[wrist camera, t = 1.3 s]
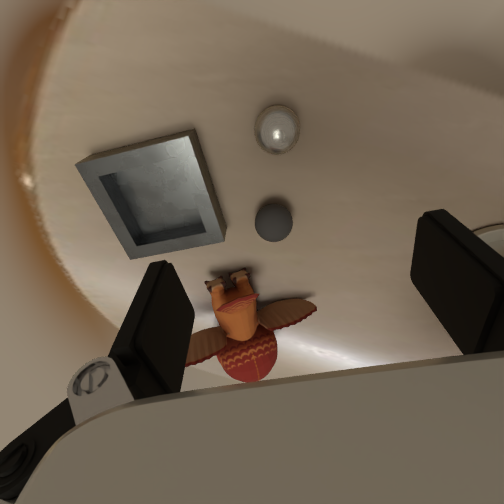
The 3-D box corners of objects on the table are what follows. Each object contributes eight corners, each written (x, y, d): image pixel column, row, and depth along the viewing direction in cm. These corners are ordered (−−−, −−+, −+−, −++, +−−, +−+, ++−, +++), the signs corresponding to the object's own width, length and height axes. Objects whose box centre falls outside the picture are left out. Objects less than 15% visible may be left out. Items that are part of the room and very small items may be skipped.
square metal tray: (194, 128, 27) (188, 136, 25) (226, 227, 33) (224, 241, 31) (90, 155, 29) (74, 164, 26) (139, 245, 35) (130, 259, 32)
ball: (287, 194, 31) (291, 211, 27) (293, 226, 33) (297, 245, 30) (251, 202, 31) (250, 219, 28) (259, 232, 33) (259, 252, 30)
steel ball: (293, 97, 25) (299, 103, 22) (300, 142, 28) (305, 154, 24) (250, 108, 26) (249, 116, 23) (259, 152, 28) (259, 165, 25)
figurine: (147, 291, 37) (182, 379, 42) (144, 326, 29) (189, 430, 34) (285, 244, 41) (302, 330, 46) (316, 263, 33) (332, 364, 38)
